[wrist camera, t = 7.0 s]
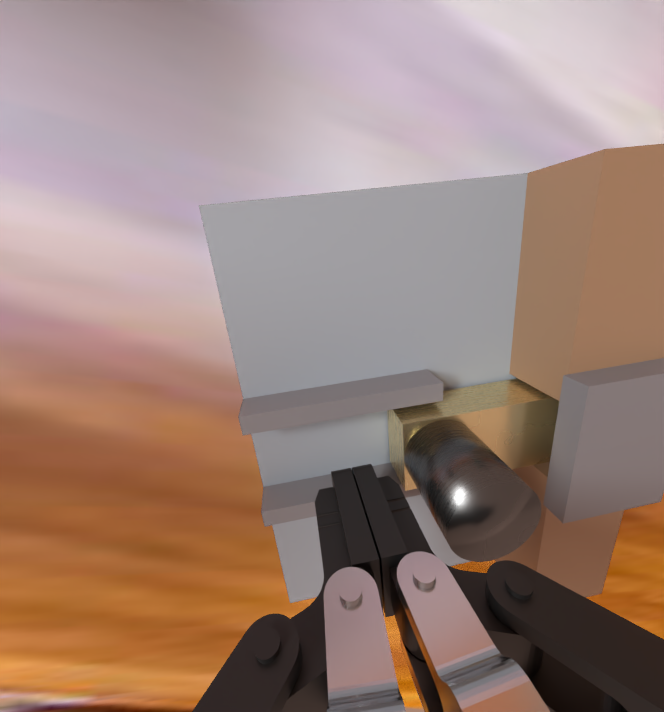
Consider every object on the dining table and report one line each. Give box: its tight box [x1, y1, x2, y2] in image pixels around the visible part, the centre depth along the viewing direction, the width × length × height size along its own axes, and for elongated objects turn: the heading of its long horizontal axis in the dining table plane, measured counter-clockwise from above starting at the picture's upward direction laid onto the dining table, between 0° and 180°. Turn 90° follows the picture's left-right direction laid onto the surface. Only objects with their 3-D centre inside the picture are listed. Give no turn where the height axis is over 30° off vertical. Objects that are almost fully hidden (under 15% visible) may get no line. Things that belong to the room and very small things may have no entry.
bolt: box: [387, 378, 559, 562], centre depth 12 cm, size 10×3×6 cm, turn 96°
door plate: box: [199, 144, 664, 603], centre depth 13 cm, size 16×20×6 cm
